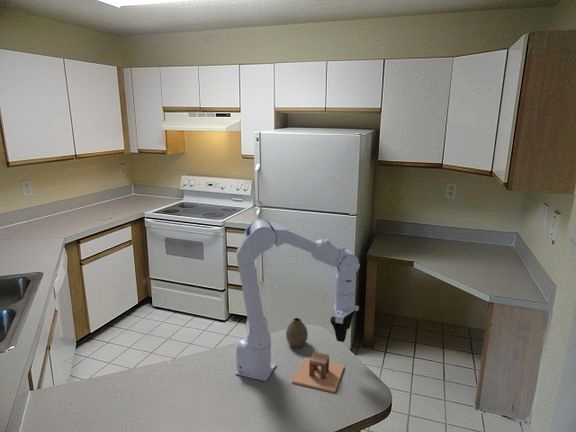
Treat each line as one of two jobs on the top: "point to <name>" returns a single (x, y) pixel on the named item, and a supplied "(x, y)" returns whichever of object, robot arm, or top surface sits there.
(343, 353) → the top surface
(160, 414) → the top surface
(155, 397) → the top surface
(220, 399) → the top surface
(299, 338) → the vase
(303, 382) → the mat
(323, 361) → the notched brown block
